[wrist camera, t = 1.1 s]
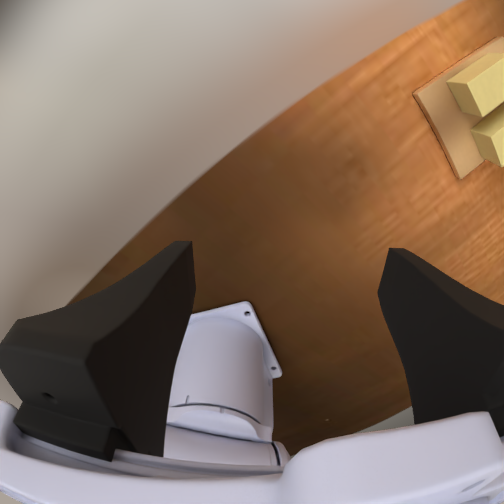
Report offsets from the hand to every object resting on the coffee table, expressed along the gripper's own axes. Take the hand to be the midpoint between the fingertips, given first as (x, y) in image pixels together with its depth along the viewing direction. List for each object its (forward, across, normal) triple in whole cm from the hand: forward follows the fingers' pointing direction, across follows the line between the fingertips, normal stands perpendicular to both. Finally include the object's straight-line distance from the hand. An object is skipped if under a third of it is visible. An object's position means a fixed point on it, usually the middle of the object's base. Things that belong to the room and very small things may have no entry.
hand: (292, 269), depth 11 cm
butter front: (+9, -13, -9) cm, 19 cm away
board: (+10, -14, -8) cm, 19 cm away
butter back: (+9, -16, -6) cm, 19 cm away
